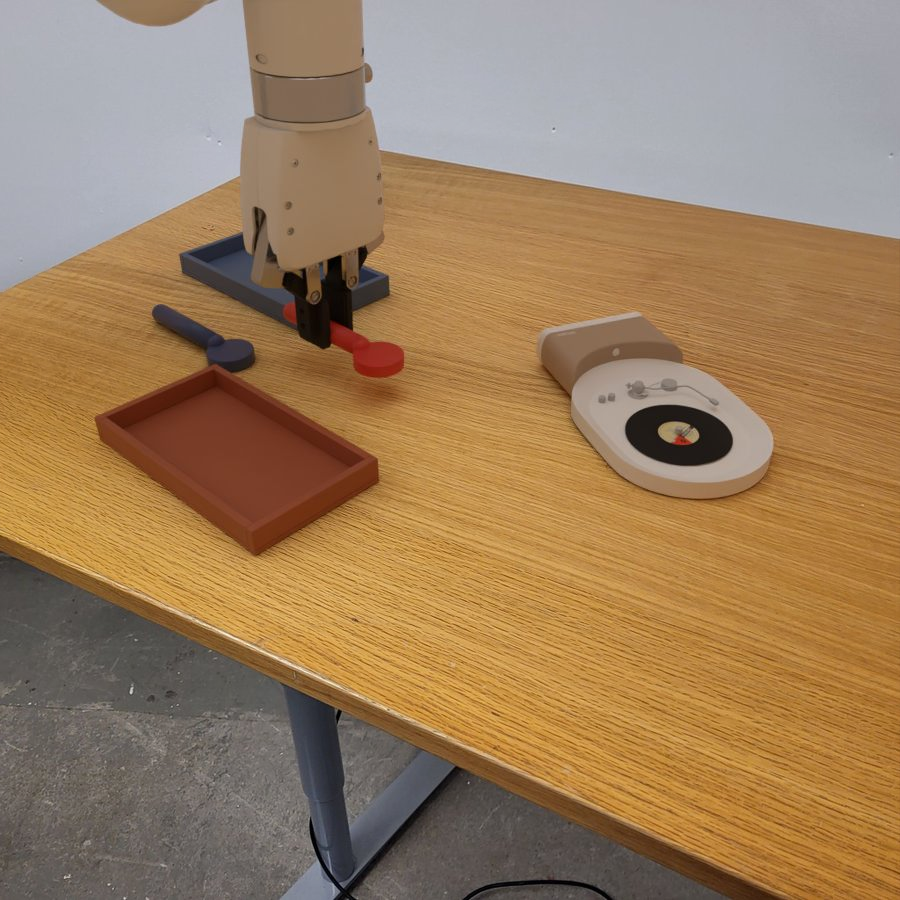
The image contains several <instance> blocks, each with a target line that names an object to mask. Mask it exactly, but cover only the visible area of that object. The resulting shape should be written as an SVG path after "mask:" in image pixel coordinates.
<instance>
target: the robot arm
mask: <svg viewBox="0 0 900 900" xmlns="http://www.w3.org/2000/svg"><path fill="white" fill-rule="evenodd" d="M95 1H96V2H97V3H98V4H100V5H101V6H103V7H104V8H105V9H107V10H109V11H110V12H112V13H113V14H115V15H116V16H117V17H119V18H122V19H124V20H126V21H129V22H131V23H133V24H137V25H141V26H145V27H161V28H162V27H167V26H173V25H175V24H178V23H181V22H182V21H185V20H187V19H189V18H190V17H191V16H193V15H194V14H196V13H197V12H199V11H200V10H202V9H203V8H204V7H206V6H207V5H209V4H213V3H214V2H217V1H218V0H95ZM242 8H243V18H244V29H245V38H246V48H247V57H248V65H249V67H248V68H249V76H250V86H251V97H252V105H253V106H252V107H253V115H252V116H250V117H247V118H245V119H244V122H243V128H242V136H241V145H240V161H239V188H240V192H239V193H240V194H239V195H240V215H241V229H242V232H243V238H244V244H245V248H246V251H247V253H249V254H250V255H253V256H254V261H253V267H252V272H251V281H252V282H254V283H256V284H258V285H260V286H262V287H264V288H279V289H281V288H284V289H285V290H287V292H289V293H290V294H292V295H294V298H295V309H296V320H297V329H298V330H297V332H298V335H299V337H300V338H301V339H302V340H304V341H305V342H308V343H310V344H312V345H314V346H315V347H317V348H319V349H321V350H326V349H328V348H330V347H331V345H332V343H331V340H330V336H331V330H330V320H332V321H334V322H336V323H338V324H340V325H342V326H344V327H346V328H348V329H350V330H352V331H354V311H353V310H352V291H351V289H354V288H355V287H356V286H357V284H358V280H359V275H358V272H359V270H360V269H361V267H362V265H364V263H365V262H366V260H367V258H368V255H370V254H372V253H373V252H374V251H375V250H376V249H377V248H378V247H380V246H381V245H383V243H384V241H385V233H384V230H383V229H384V226H385V225H384V224H385V190H384V189H385V188H384V178H383V167H382V160H381V152H380V145H379V140H378V135H377V129H376V125H375V120H374V116H373V112H372V109H371V108H370V106H368V105H367V97H366V96H367V95H366V84H369V83H370V82H371V81H372V80H373V77H374V76H373V75H374V74H373V69H372V67H371V66H370V64H368V63H367V62H365V43H364V42H365V41H364V19H363V18H364V17H363V0H242ZM320 262H323V274H324V277H325V279H322V280H320V271H319V263H320ZM278 265H279V267H278ZM301 272H302V274H301ZM302 277H303V279H302Z"/></svg>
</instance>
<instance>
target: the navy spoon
mask: <svg viewBox="0 0 900 900" xmlns="http://www.w3.org/2000/svg"><path fill="white" fill-rule="evenodd" d="M151 316H152V318H153V320H154V321H155V322H157V323H159V324H161V325H163V326H164V327H166V328H167V329H170V330H171V331H173V332H175V333H176V334H177V335H180V336H182V337H183V338H185V339H187V340H189V341H190V342H192V343H193V344H196V345H197V346H199V347H201V348H202V349H204V350H206V351H205V356H206V362H207V365H208V367H209V366H212V365H214V364H217V365H218V366H220V367H222V368H224V369H225V370H227V371H229V372H230V373H234V372H239V371H243V370H245V369H247V368H249V367H251V366H252V365H253V364H254V363H255V362H256V352H255V346H254V345H253V343H251V342H250V341H249V340H245V339H243V338H229V339H225V337H224V336H223V335H221V334H220V333H217V332H216V331H214V330H212V329H210V328H208V327H206V326H205V325H203V324H201V323H199V322H198V321H196V320H194V319H192V318H190V317H188V316H186V315H184V314H183V313H181V312H179V311H177V310H176V309H174V308H172V307H170V306H169V305H166V304H164V303H159V304H156V305H155V306H154V307H153V308H152V310H151Z"/></svg>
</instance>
